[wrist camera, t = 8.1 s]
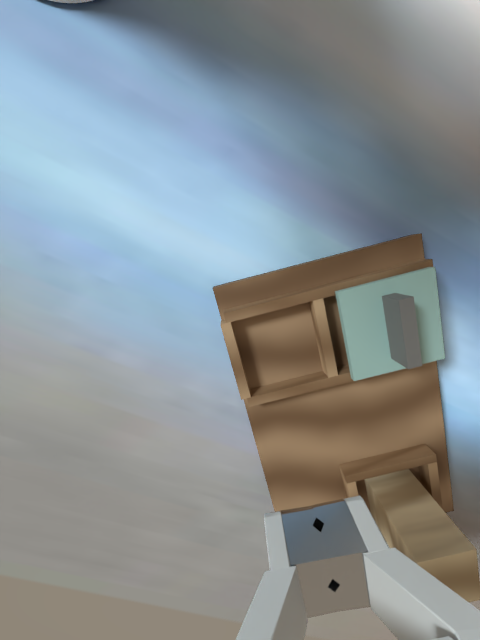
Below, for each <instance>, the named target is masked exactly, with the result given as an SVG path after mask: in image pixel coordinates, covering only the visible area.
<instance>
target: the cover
mask: <svg viewBox="0 0 480 640" xmlns="http://www.w3.org/2000/svg"><path fill="white" fill-rule="evenodd" d="M335 294H336V300H337V305H338V311H339V316H340V321H341V327H342V332H343V337H344V343H345V348H346V353H347V359H348V364H349V369H350V375H351V379H352V380H353V381H357V380H361V379H365V378H369V377H373V376H377V375H381V374H385V373H389V372H393V371H397V370H401V369H405V368H407V369H412V368H416V367H420V366H422V364H425V363H429V362H433V361H437V360H441V359H445V353H444V344H443V335H442V326H441V317H440V307H439V298H438V289H437V280H436V271H435V267H427V268H423V269H419V270H416V271H412V272H408V273H404V274H400V275H396V276H392V277H388V278H385V279H381V280H377V281H373V282H369V283H365V284H361V285H358V286H354V287H350V288H346V289H342V290H338V291H335Z"/></svg>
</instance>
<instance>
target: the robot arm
mask: <svg viewBox="0 0 480 640" xmlns="http://www.w3.org/2000/svg"><path fill="white" fill-rule="evenodd" d="M49 1H54V2H61V3H82V2H89V1H93V0H49ZM264 523H265V531H266V540H267V549H268V558H269V567H270V571H265V572H264V575H263V577H262V579H261V582H260V584H259V586H258V589H257V591H256V593H255V596H254V598H253V600H252V603H251V605H250V607H249V610H248V612H247V614H246V617H245V619H244V621H243V624H242V626H241V629H240V631H239V633H238V635H237V638H236V640H304V637H305V632H306V628H307V623H308V619H307V618H311V617H315V616H320V615H324V614H329V613H333V612H338V611H345V610H352V609H359V608H366V607H371V609H372V611H373V612H374V613H375V614H376V615H377V616H378V617H379V618H380V620H381V621H382V622H383V623H384V624H385V625H386V626H387V627H388V628H389V630H390V631H391V632H392V633H393V634H394V635H395V636H396V637H397V639H398V640H480V611H479V610H478V609H477V608H475V607H474V606H473V605H471V604H470V603H469V602H467V601H466V600H465V599H463V598H462V597H461V596H459V595H458V594H457V593H455V592H454V591H453V590H451V589H450V588H449V587H447V586H446V585H444V584H443V583H442V582H440V581H439V580H438V579H436V578H435V577H434V576H432V575H431V574H430V573H428V572H427V571H426V570H424V569H423V568H422V567H420V566H419V565H418V564H416V563H415V562H414V561H412V560H411V559H410V558H408V557H407V556H406V555H404V554H403V553H401V552H400V551H399V550H397V549H396V548H389V547H388V545H387V543H386V541H385V539H384V537H383V535H382V534H381V532H380V530H379V528H378V526H377V524H376V522H375V520H374V518H373V517H372V515H371V513H370V511H369V509H368V507H367V505H366V503H365V502H364V500H363V498H362V497H361V496H355V497H350V498H345V499H339V500H334V501H329V502H324V503H320V504H315V505H312V506H306V507H300V508H294V509H287V510H281V512H280V511H277V512H271V513H265V514H264Z"/></svg>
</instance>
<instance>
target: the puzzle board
mask: <svg viewBox="0 0 480 640" xmlns="http://www.w3.org/2000/svg"><path fill="white" fill-rule="evenodd" d="M427 267H433V261H432V259H424V250H423V241H422V233H421V234H413V235H409V236H405V237H401V238H398V239H394V240H390V241H386V242H382V243H378V244H375V245H371V246H367V247H363V248H359V249H355V250H352V251H348V252H344V253H340V254H336V255H333V256H329V257H325V258H321V259H317V260H313V261H310V262H306V263H302V264H298V265H294V266H290V267H287V268H283V269H279V270H275V271H271V272H268V273H264V274H260V275H256V276H252V277H248V278H245V279H241V280H237V281H233V282H229V283H225V284H222V285H218V286H214V287H213V291H214V294H215V298H216V301H217V305H218V309H219V312H220V316H221V319H222V321H221V328H222V332H223V335H224V339H225V343H226V346H227V350H228V353H229V357H230V360H231V364H232V368H233V371H234V375H235V378H236V382H237V386H238V389H239V393H240V396H241V400H242V399H244V402H245V406H246V409H247V413H248V417H249V420H250V424H251V427H252V431H253V435H254V438H255V442H256V445H257V449H258V453H259V456H260V460H261V463H262V467H263V471H264V474H265V478H266V481H267V485H268V489H269V492H270V496H271V499H272V503H273V507H274V510H275V512H277V511H280V512H281V510H287V509H294V508H300V507H306V506H312V505H315V504H320V503H324V502H329V501H334V500H339V499H345V498H350V497H355V496H361V497H362V498H363V500H364V502H365V503H366V505H367V507H368V509H369V511H370V506H369V500H368V495H367V490H366V485H365V480H364V479H368V478H373V477H377V476H381V475H385V474H389V473H393V472H397V471H402V470H406V469H409V470H410V471H411V472H412V474H413V475H414V476H415V477H416V478H417V480H418V481H419V482H420V483H421V484H422V485H423V487H424V488H425V489H426V490H427V491H428V493H429V494H430V495H431V496H432V497H433V499H434V500H435V501H436V502H437V503H438V504H439V506H440V507H441V508H442V509H443V510H444V512H445V513H446V512H450V511H454V508H453V499H452V490H451V482H450V473H449V465H448V456H447V447H446V439H445V430H444V422H443V413H442V405H441V396H440V387H439V379H438V370H437V362H436V361H433V362H429V363H425V364H422V366H420V367H416V368H412V369H407V368H405V369H401V370H397V371H393V372H389V373H385V374H381V375H377V376H373V377H369V378H365V379H361V380H357V381H353V380H352V379H351V375H350V369H349V364H348V359H347V353H346V348H345V343H344V337H343V332H342V327H341V321H340V316H339V311H338V305H337V300H336V294H335V291H338V290H342V289H346V288H350V287H354V286H358V285H361V284H365V283H369V282H373V281H377V280H381V279H385V278H388V277H392V276H396V275H400V274H404V273H408V272H412V271H416V270H419V269H423V268H427ZM370 513H371V511H370ZM371 515H372V514H371ZM372 517H373V516H372ZM377 526H378V525H377ZM378 528H379V527H378ZM379 530H380V529H379ZM380 532H381V531H380ZM381 534H382V533H381ZM383 537H384V536H383ZM384 539H385V538H384ZM385 541H386V540H385Z"/></svg>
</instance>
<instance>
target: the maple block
mask: <svg viewBox="0 0 480 640" xmlns="http://www.w3.org/2000/svg"><path fill="white" fill-rule="evenodd" d="M364 480H365V485H366V490H367V495H368V500H369V506H370V511H371V514H372V516H373V518H374V520H375V522H376V524H377V525H378V527H379V529H380V531H381V533H382V535H383V536H384V538H385V540H386V542H387V544H388V546H389V547H390V548H396V549H397V550H399V551H400V552H401V553H403V554H404V555H406V556H407V557H408V558H410V559H411V560H412V561H414V562H415V563H416V564H418V565H419V566H420V567H422V568H423V569H424V570H426V571H427V572H428V573H430V574H431V575H432V576H434V577H435V578H436V579H438V580H439V581H440V582H442V583H443V584H444V585H446V586H447V587H449V588H450V589H451V590H453V591H454V592H455V593H457V594H458V595H459V596H461V597H462V598H463V599H465V600H466V601H467V602H472V601H477V600H480V582H479V572H478V562H477V552H476V548H475V547H474V546H473V545H472V544H471V543H470V541H469V540H468V539H467V538H466V537H465V535H464V534H463V533H462V532H461V531H460V529H459V528H458V527H457V526H456V525H455V524H454V522H453V521H452V520H451V519H450V518H449V516H448V515H447V514H446V513H445V512H444V510H443V509H442V508H441V507H440V506H439V504H438V503H437V502H436V501H435V500H434V499H433V497H432V496H431V495H430V494H429V493H428V491H427V490H426V489H425V488H424V487H423V485H422V484H421V483H420V482H419V481H418V480H417V478H416V477H415V476H414V475H413V474H412V472H411V471H410V470H409V469H406V470H402V471H397V472H393V473H389V474H385V475H381V476H377V477H373V478H368V479H364Z"/></svg>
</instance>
